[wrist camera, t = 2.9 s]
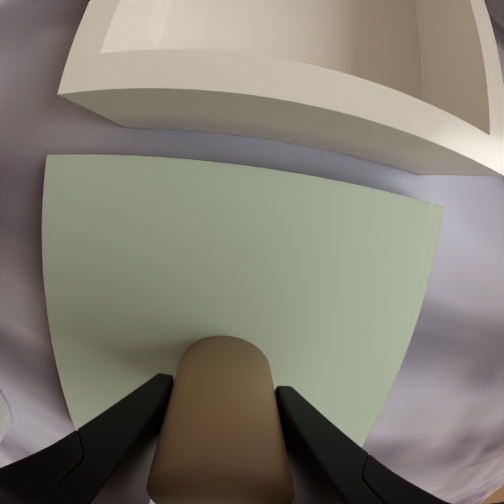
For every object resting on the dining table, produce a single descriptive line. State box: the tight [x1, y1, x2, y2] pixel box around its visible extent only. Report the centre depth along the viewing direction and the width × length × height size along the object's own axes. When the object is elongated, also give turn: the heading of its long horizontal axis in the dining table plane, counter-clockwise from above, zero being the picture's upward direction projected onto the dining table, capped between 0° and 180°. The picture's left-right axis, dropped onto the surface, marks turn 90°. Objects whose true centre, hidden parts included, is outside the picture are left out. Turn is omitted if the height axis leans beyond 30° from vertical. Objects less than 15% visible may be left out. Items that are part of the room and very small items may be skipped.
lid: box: [42, 154, 443, 504], centre depth 7 cm, size 12×12×6 cm
